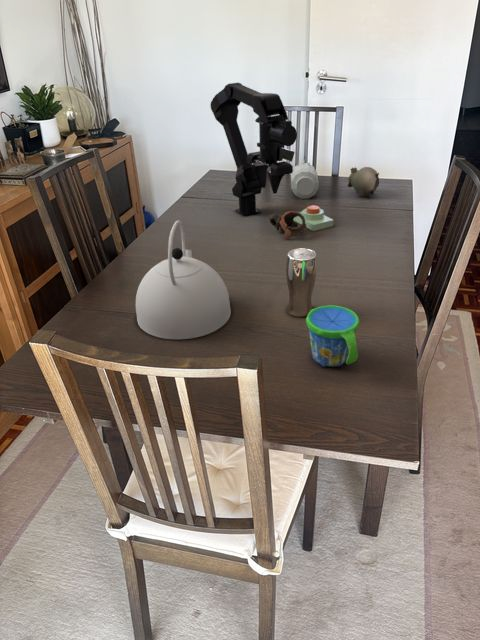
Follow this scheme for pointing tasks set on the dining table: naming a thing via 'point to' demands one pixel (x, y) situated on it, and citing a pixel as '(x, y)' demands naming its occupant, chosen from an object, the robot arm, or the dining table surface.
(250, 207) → the robot arm
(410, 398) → the dining table surface
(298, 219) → the box
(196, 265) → the kettle
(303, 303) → the beer glass
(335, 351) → the snack cup
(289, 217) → the pottery mug
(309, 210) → the call button
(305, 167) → the device
